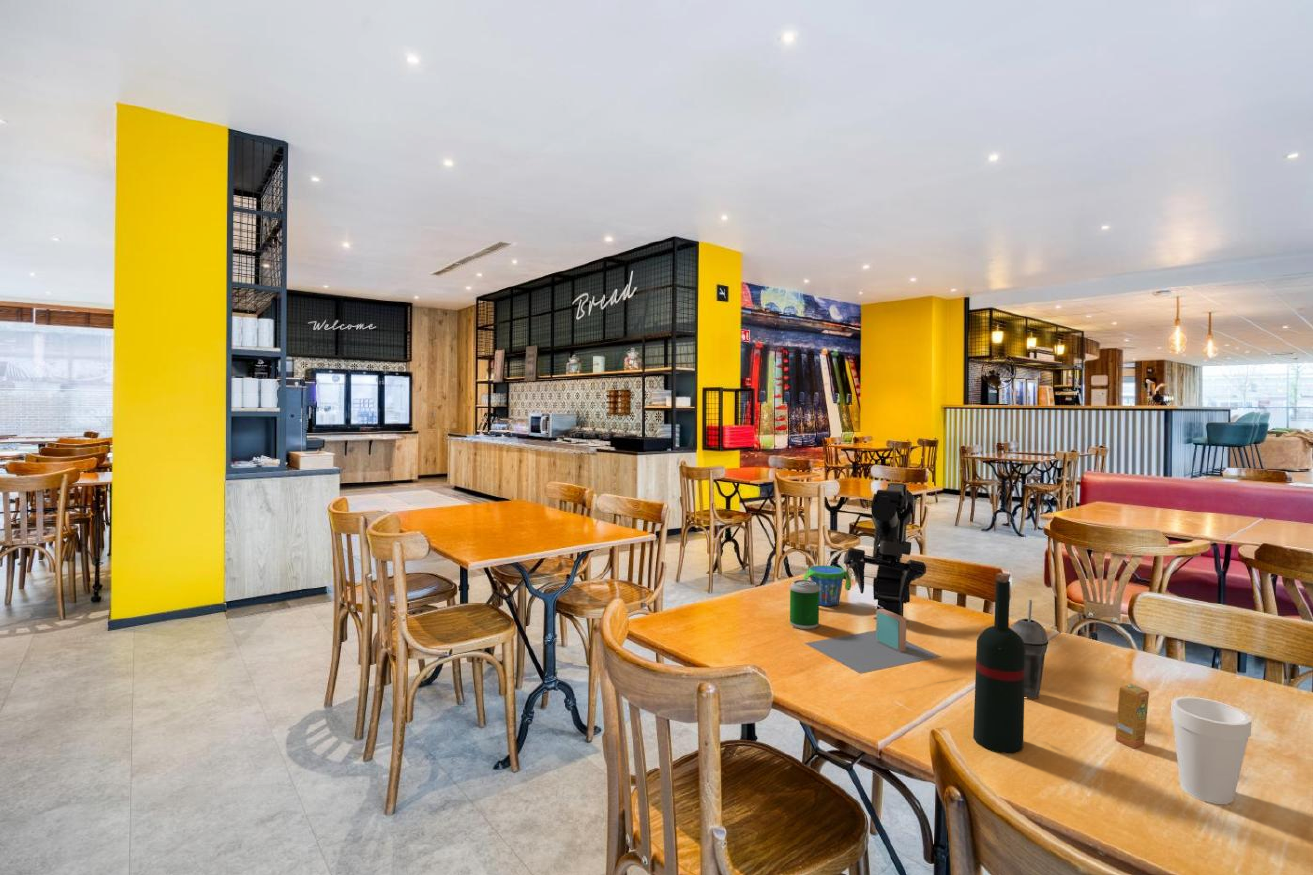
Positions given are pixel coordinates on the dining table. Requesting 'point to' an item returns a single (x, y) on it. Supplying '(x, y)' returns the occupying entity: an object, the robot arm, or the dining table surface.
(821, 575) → the snack cup
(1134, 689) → the supplement box
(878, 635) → the terracotta tile
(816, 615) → the soda can
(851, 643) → the slate mat
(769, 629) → the dining table surface
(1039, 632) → the beverage cup
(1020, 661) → the wine bottle
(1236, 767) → the foam cup
